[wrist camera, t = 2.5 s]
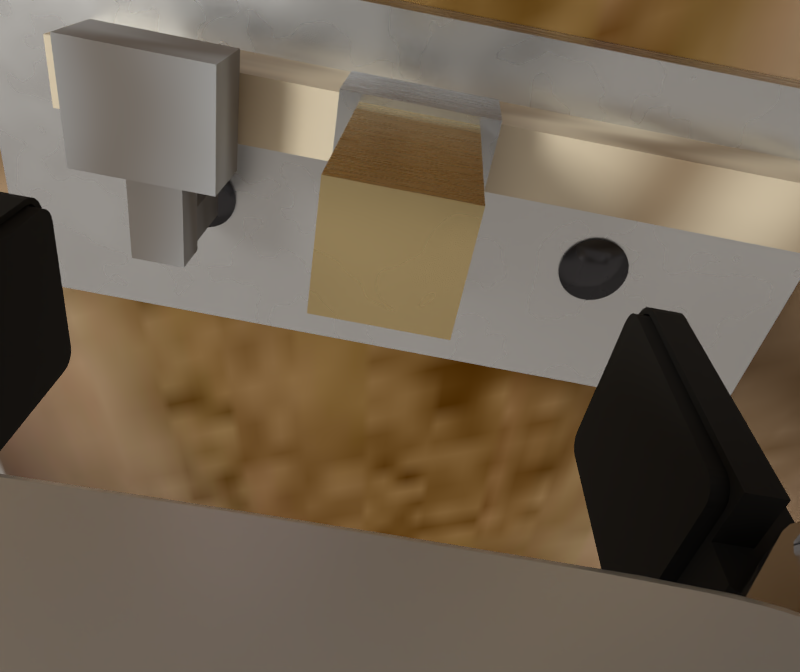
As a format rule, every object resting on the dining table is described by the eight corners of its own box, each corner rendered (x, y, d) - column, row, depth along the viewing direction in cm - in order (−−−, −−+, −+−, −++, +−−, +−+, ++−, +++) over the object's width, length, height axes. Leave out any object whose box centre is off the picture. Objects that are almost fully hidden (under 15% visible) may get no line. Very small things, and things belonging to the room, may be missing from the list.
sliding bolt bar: (829, 142, 20) (919, 203, 16) (735, 312, 24) (790, 396, 20) (84, -7, 19) (-13, 19, 15) (103, 191, 23) (28, 253, 19)
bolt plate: (875, 96, 21) (904, 110, 19) (710, 386, 27) (722, 411, 26) (-11, -82, 20) (-45, -81, 18) (45, 261, 27) (23, 280, 25)
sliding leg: (495, 79, 19) (515, 201, 12) (450, 264, 23) (443, 451, 15) (363, 53, 19) (294, 158, 12) (338, 242, 23) (274, 419, 15)
